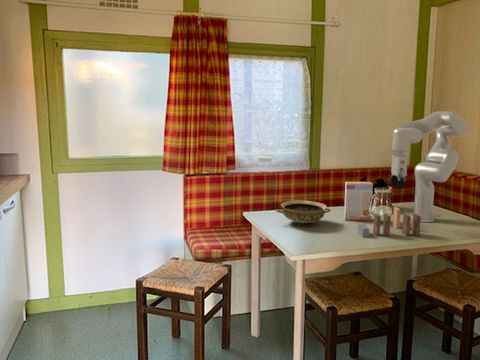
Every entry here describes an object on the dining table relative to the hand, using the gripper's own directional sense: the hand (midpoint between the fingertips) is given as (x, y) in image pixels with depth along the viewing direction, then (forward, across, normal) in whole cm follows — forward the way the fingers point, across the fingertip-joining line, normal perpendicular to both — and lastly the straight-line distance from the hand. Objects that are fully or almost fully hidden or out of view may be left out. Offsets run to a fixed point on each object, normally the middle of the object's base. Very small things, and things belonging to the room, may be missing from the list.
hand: (397, 186), depth 227 cm
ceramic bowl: (+22, +6, +46) cm, 52 cm away
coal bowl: (+21, +40, 0) cm, 45 cm away
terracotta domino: (+21, 0, -1) cm, 21 cm away
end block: (+22, -14, +20) cm, 32 cm away
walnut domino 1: (+21, -14, +13) cm, 28 cm away
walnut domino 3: (+21, -13, -1) cm, 25 cm away
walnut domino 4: (+21, -13, -6) cm, 26 cm away
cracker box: (+21, +14, +16) cm, 30 cm away
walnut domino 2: (+21, -13, +8) cm, 27 cm away
